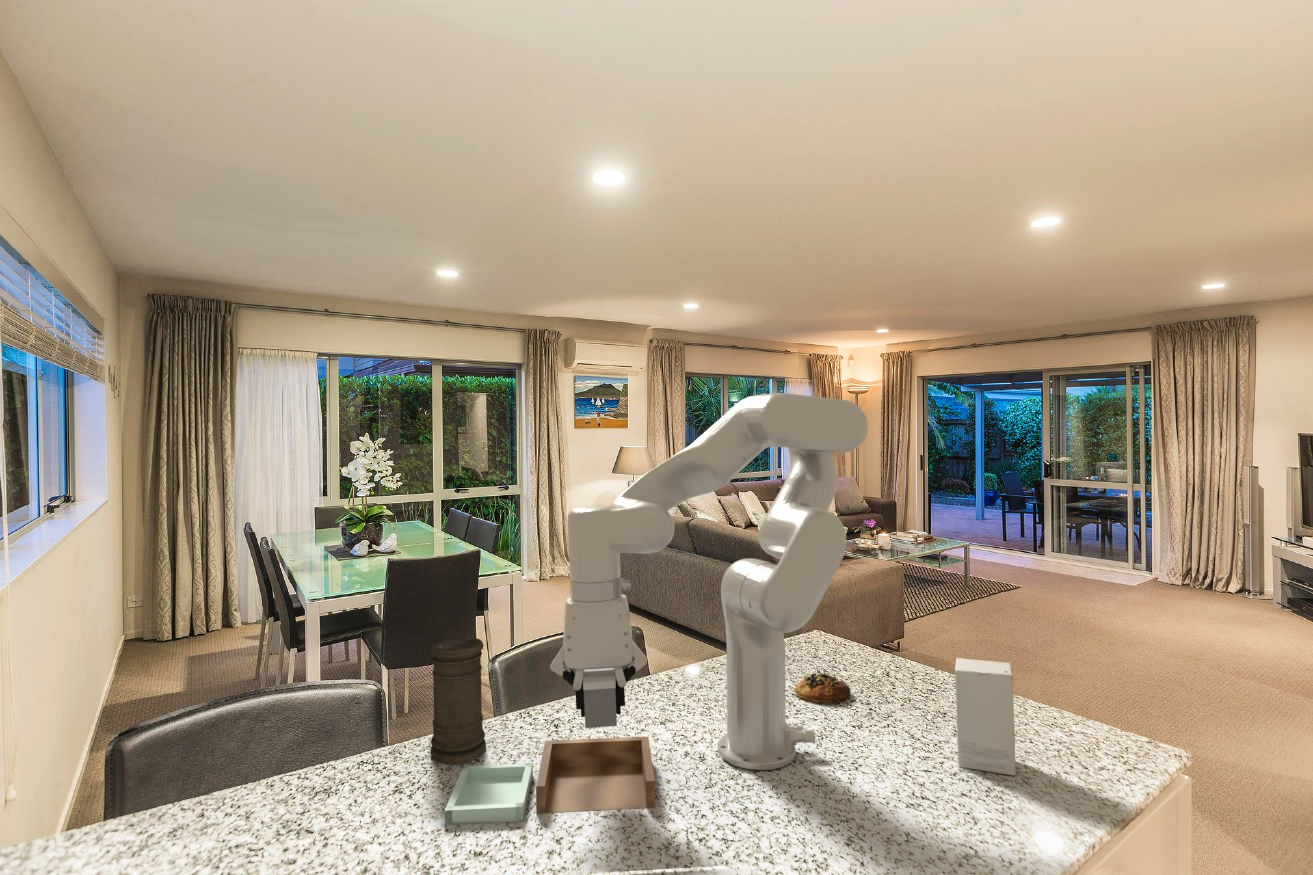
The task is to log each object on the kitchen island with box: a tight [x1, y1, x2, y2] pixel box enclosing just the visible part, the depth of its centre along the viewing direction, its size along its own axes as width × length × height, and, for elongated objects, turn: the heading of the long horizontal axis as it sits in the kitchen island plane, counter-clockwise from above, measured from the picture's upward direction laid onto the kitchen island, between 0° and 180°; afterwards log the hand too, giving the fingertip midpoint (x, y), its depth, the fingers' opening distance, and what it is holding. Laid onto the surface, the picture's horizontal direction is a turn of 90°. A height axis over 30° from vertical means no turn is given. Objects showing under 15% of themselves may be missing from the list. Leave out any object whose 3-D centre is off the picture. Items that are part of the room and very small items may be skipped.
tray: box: [444, 762, 534, 827], centre depth 99 cm, size 10×12×2 cm
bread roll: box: [793, 672, 851, 705], centre depth 138 cm, size 11×11×5 cm
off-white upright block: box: [583, 668, 618, 729], centre depth 102 cm, size 5×7×6 cm, turn 4°
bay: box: [535, 736, 656, 815], centre depth 102 cm, size 16×14×4 cm
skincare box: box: [954, 657, 1017, 776], centre depth 108 cm, size 8×7×16 cm
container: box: [429, 636, 487, 765], centre depth 114 cm, size 9×9×18 cm
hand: (600, 710), depth 102 cm, fingers closed on off-white upright block, 4 cm apart
